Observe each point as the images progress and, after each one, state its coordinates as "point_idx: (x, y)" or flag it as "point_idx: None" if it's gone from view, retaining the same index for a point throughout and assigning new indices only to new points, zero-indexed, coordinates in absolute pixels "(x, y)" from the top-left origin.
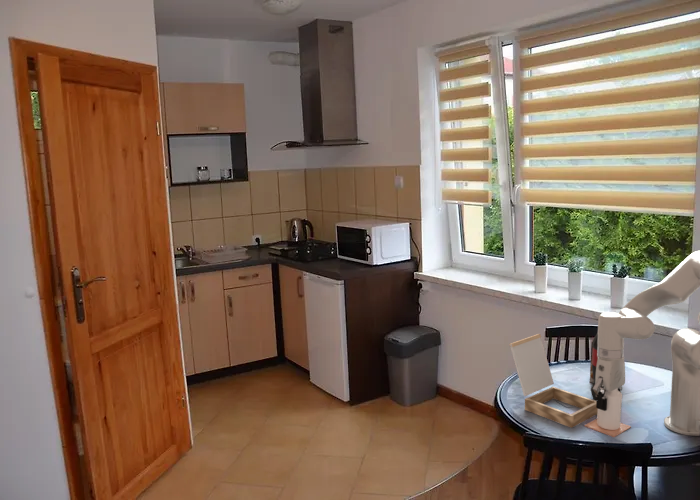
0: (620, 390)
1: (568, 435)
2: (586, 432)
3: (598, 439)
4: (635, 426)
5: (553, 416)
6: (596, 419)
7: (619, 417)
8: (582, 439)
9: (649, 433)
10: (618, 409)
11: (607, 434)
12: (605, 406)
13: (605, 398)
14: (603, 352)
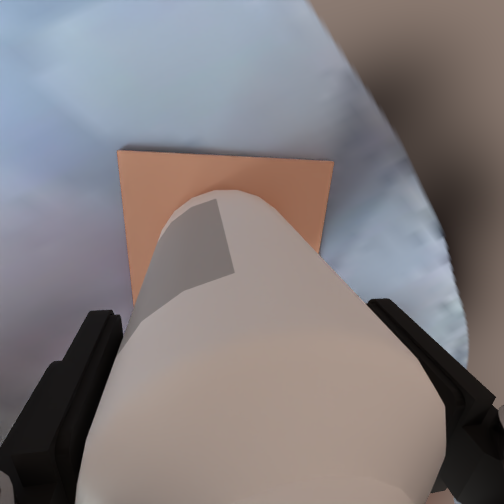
0: (4, 485)
1: (429, 313)
2: (359, 284)
3: (399, 207)
4: (72, 135)
5: None
6: None
7: (234, 208)
8: (437, 257)
9: None
10: (277, 237)
11: (325, 202)
12: (414, 326)
13: (475, 411)
14: None
